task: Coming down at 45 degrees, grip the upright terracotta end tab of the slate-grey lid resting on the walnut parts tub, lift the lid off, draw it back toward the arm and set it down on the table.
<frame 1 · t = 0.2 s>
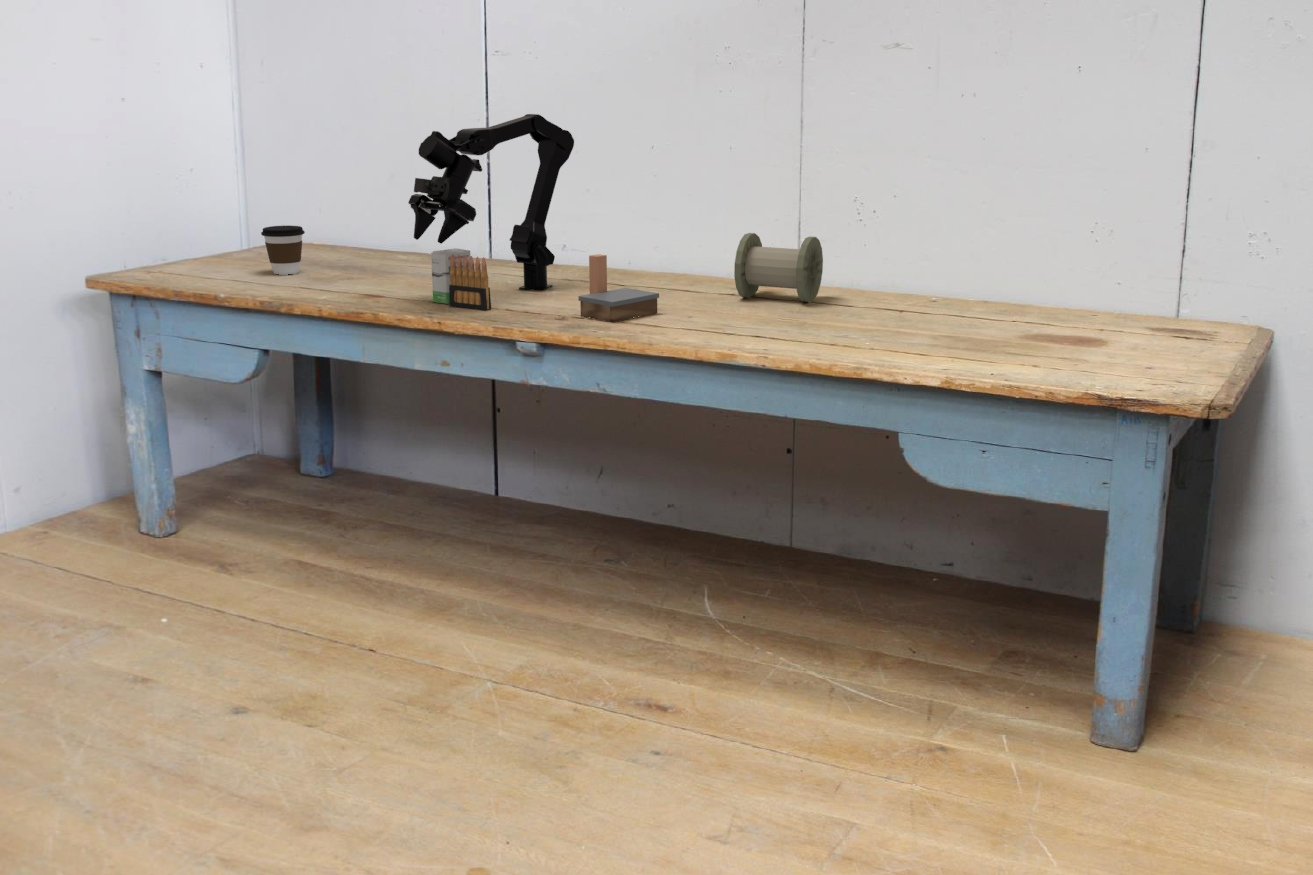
hand: (427, 240, 294), 15 cm above the table, tool tilted 35°, fingers open, 9 cm apart
spool: (778, 300, 305), on the table
ammunition clip: (470, 309, 295), on the table
coffee cup: (286, 274, 342), on the table
tub: (619, 314, 287), on the table
ink box: (452, 301, 304), on the table
lid: (619, 299, 286), point 3 cm above the table, touching tub
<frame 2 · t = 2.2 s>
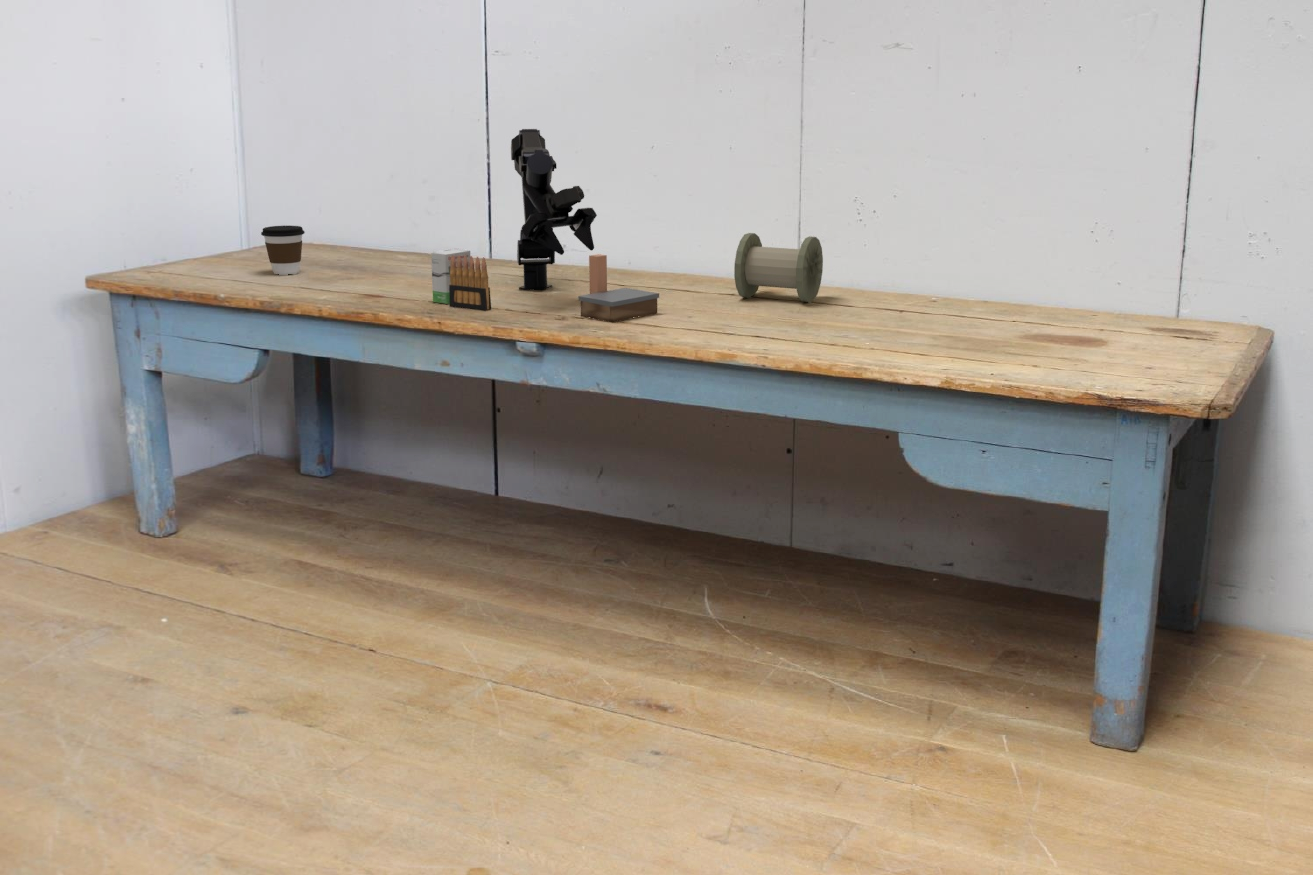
hand: (578, 251, 292), 13 cm above the table, tool tilted 45°, fingers open, 9 cm apart
nothing on the table moved.
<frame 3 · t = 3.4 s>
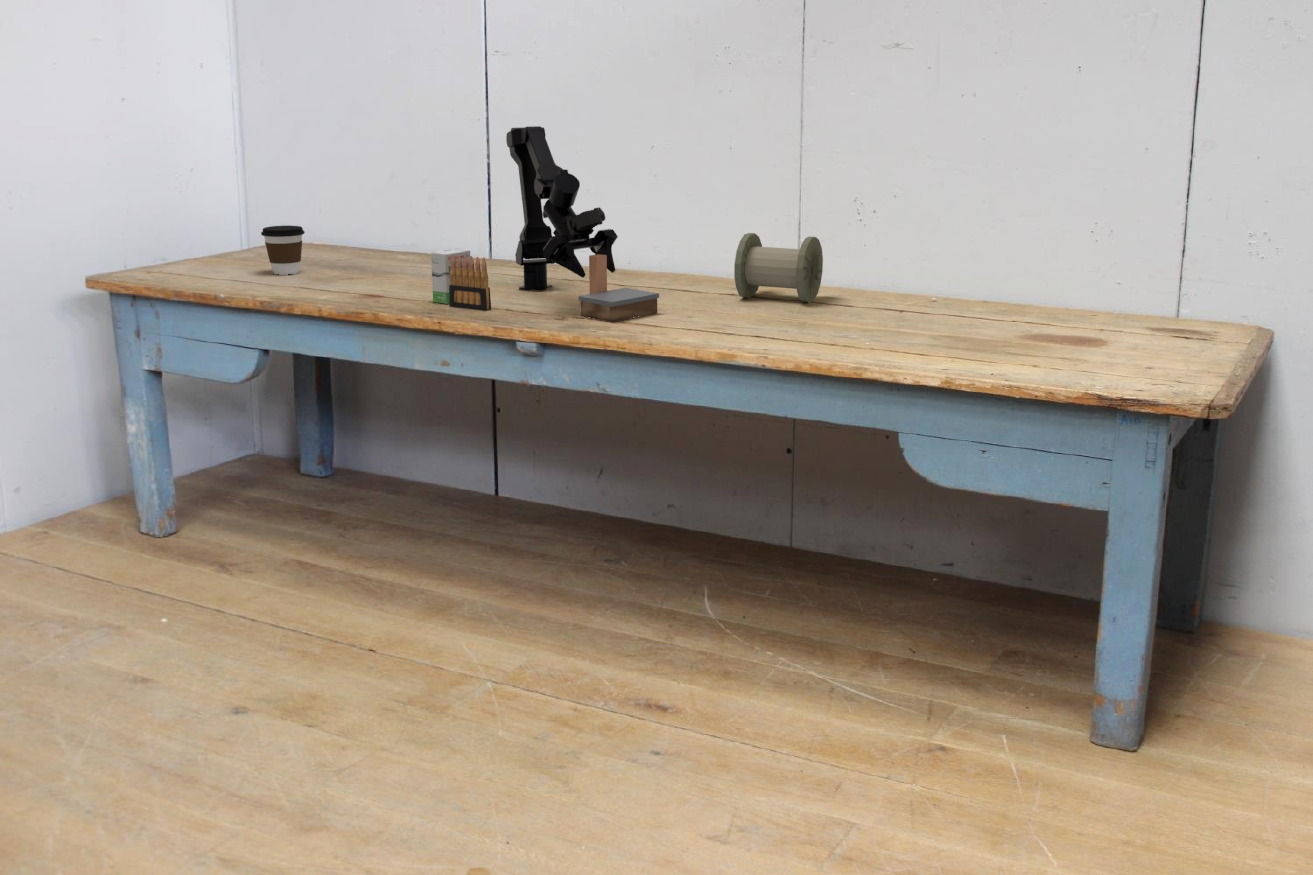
hand: (599, 273, 288), 8 cm above the table, tool tilted 45°, fingers open, 9 cm apart
nothing on the table moved.
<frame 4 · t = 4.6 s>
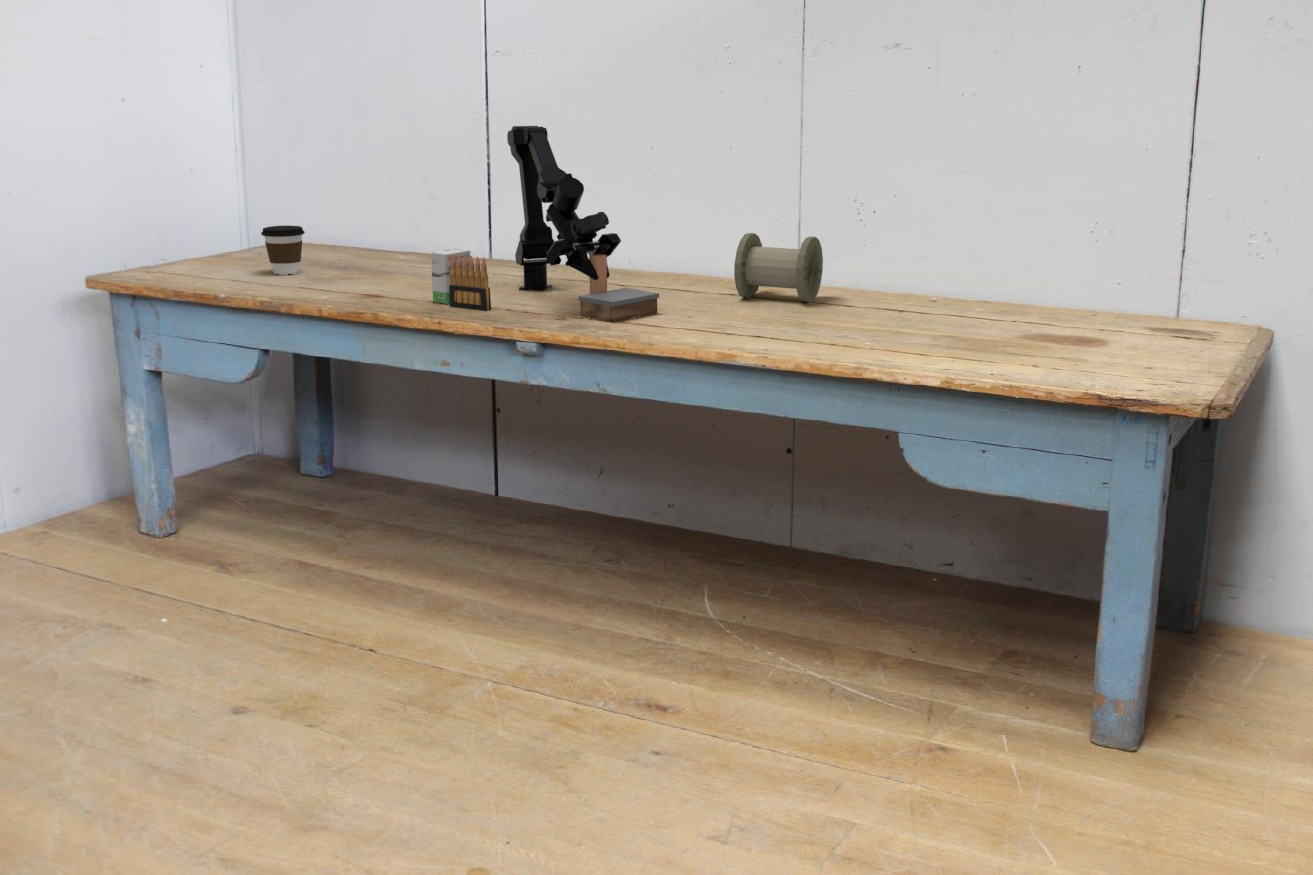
hand: (602, 278, 288), 8 cm above the table, tool tilted 45°, fingers closed on lid, 3 cm apart
lid: (619, 299, 286), point 3 cm above the table, touching gripper, tub
everything else where it was.
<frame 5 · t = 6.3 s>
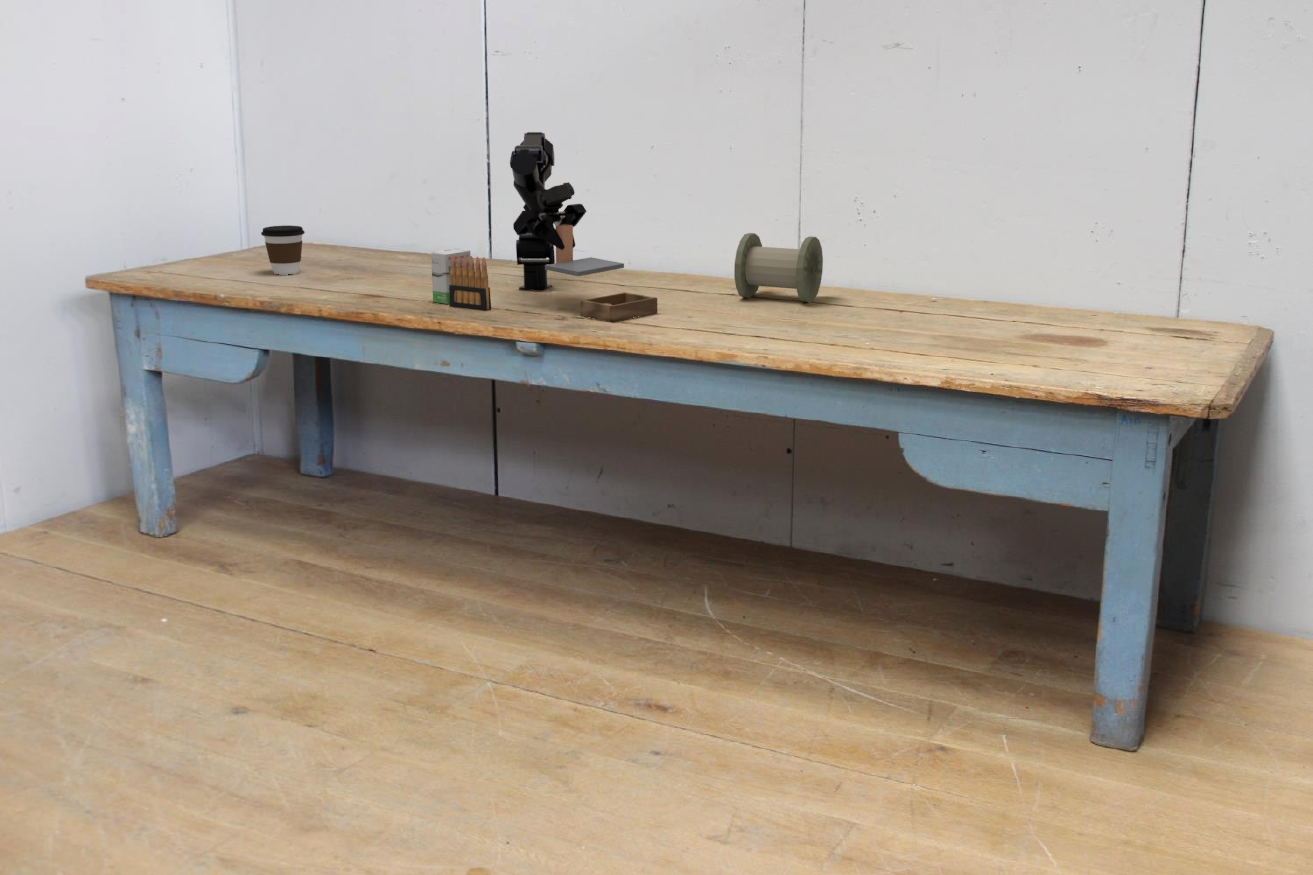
hand: (568, 247, 294), 13 cm above the table, tool tilted 45°, fingers closed on lid, 3 cm apart
lid: (584, 268, 292), point 9 cm above the table, touching gripper
everything else where it was.
when the fingers open (6 cm above the table, at t = 8.0 s): lid drops 2 cm, on the table.
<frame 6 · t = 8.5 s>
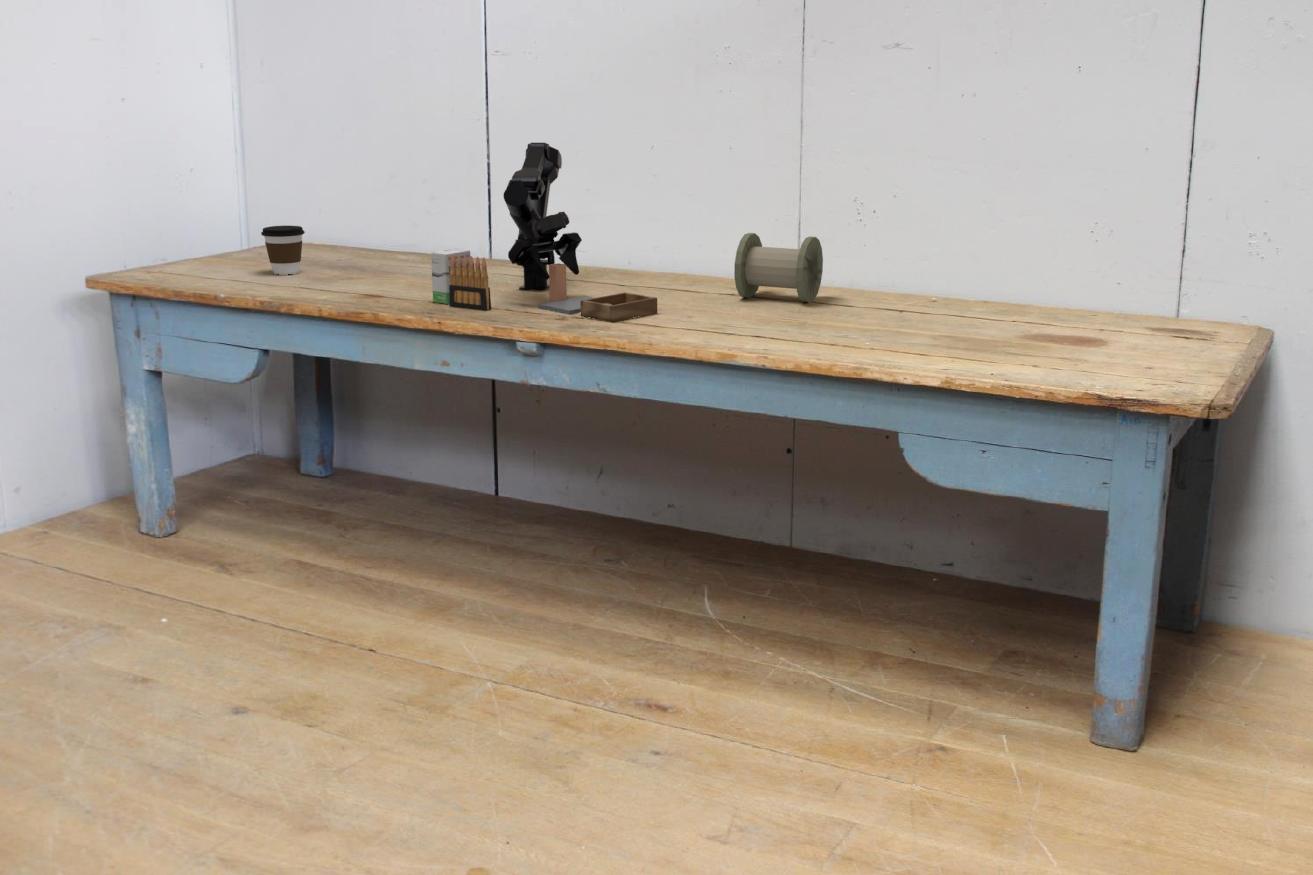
hand: (563, 276, 297), 7 cm above the table, tool tilted 45°, fingers open, 9 cm apart
lid: (577, 307, 296), on the table
everything else where it was.
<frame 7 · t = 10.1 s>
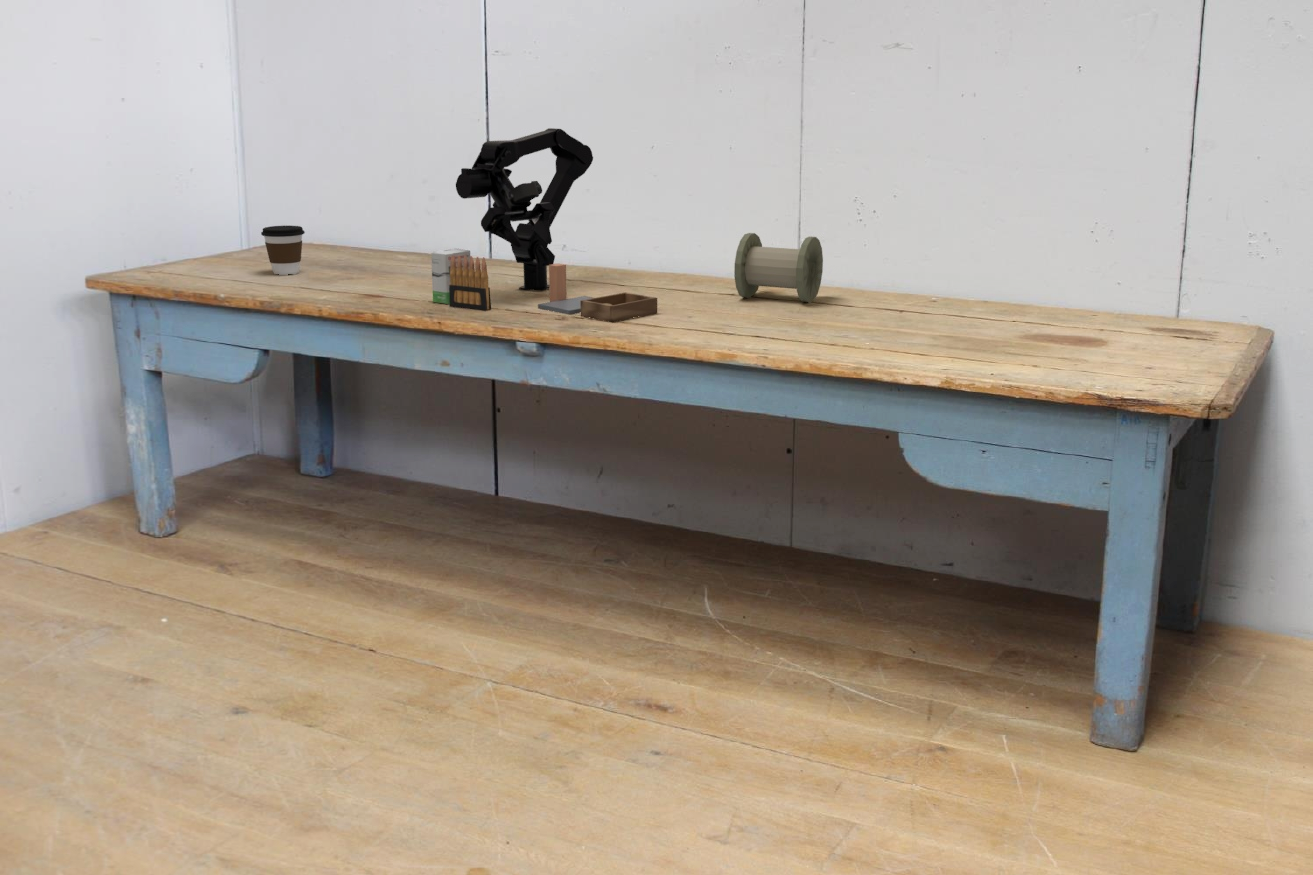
hand: (535, 244, 299), 13 cm above the table, tool tilted 45°, fingers open, 9 cm apart
nothing on the table moved.
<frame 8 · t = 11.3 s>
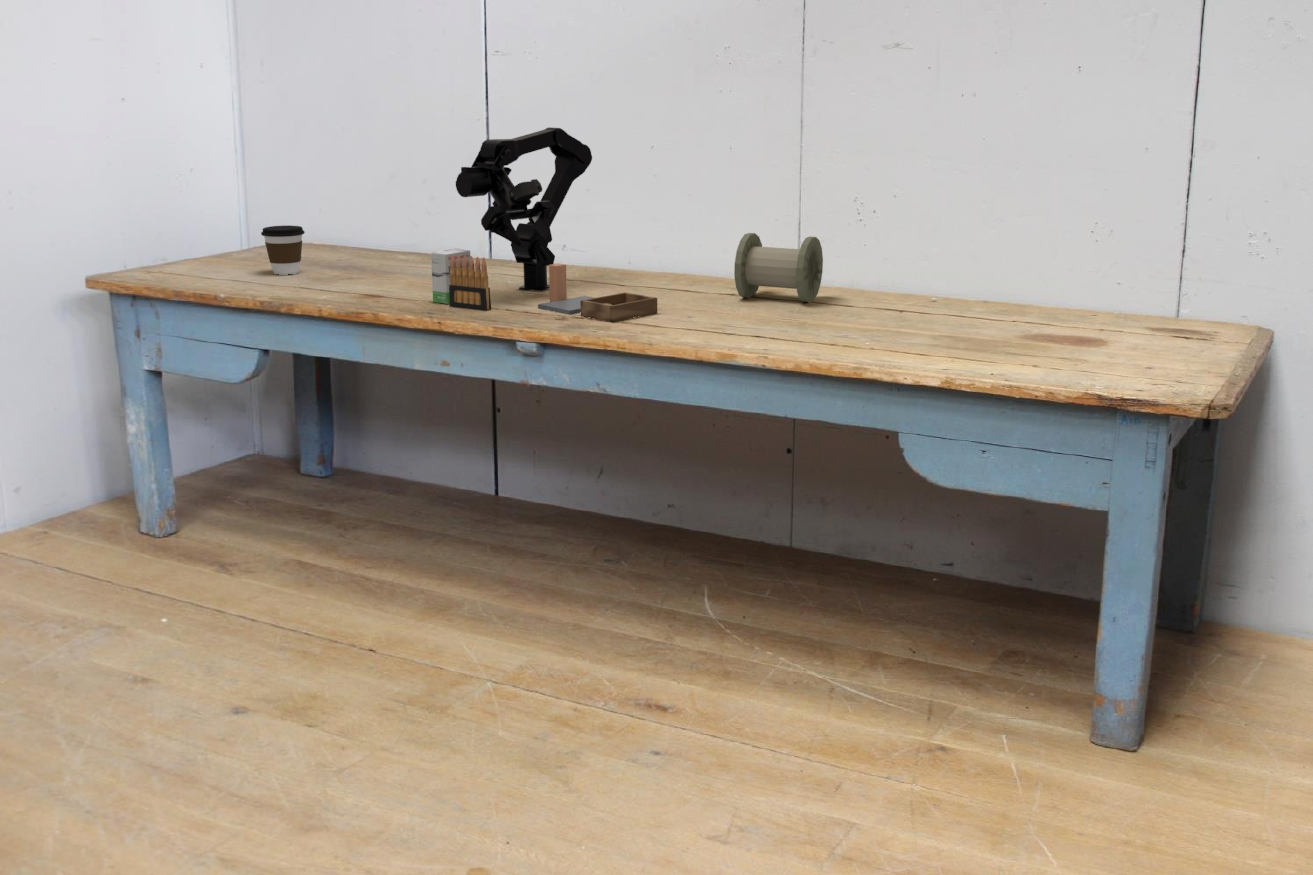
hand: (536, 243, 299), 14 cm above the table, tool tilted 45°, fingers open, 9 cm apart
nothing on the table moved.
at the end: lid inside the target area (0.4 cm from its centre), on the table; lid tilted 0°; lid moved 14.0 cm from its start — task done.
